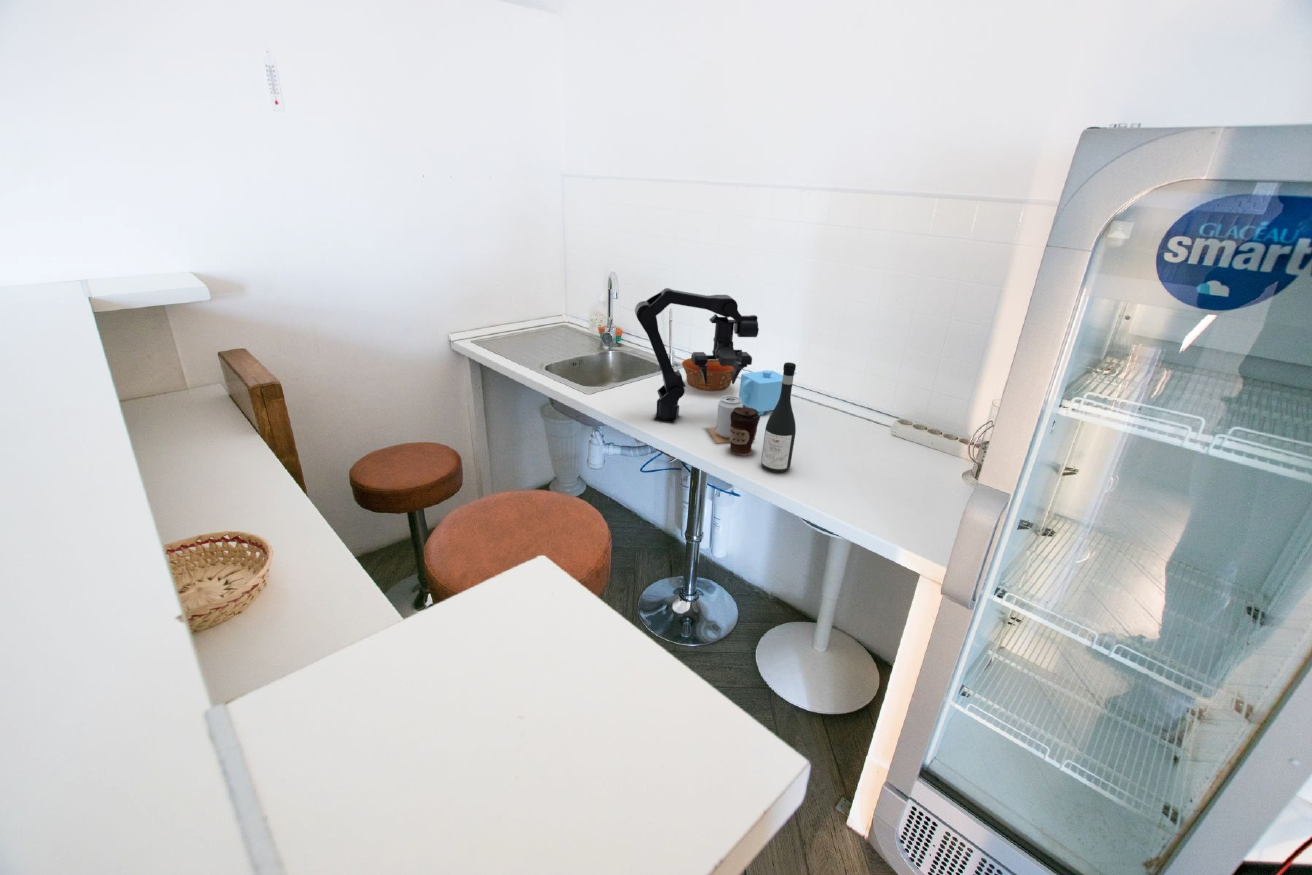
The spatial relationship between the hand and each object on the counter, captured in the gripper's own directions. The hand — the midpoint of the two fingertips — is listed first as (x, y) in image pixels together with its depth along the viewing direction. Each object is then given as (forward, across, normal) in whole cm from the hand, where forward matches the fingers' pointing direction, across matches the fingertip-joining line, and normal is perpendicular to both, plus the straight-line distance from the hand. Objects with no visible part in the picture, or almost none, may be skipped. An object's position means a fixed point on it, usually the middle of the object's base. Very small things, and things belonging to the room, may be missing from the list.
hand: (719, 383), depth 187 cm
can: (+12, 0, -14) cm, 19 cm away
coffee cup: (+12, 0, -26) cm, 29 cm away
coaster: (+12, 0, -14) cm, 19 cm away
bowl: (+12, +5, +29) cm, 32 cm away
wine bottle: (+12, +7, -37) cm, 39 cm away
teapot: (+12, +20, +8) cm, 25 cm away
